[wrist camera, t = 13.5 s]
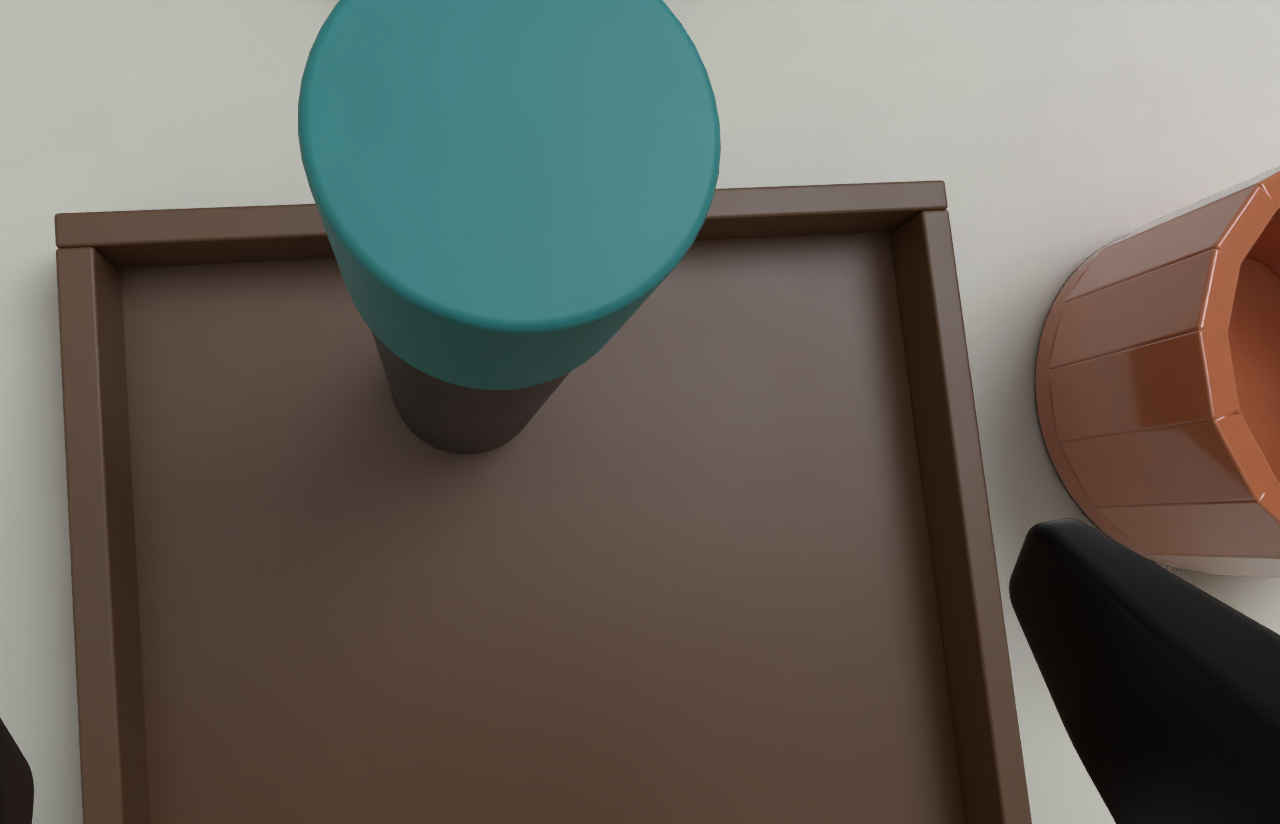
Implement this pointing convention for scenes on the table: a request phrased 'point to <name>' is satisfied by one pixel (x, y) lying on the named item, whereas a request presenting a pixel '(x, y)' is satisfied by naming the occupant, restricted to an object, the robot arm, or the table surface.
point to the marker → (503, 189)
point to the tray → (536, 541)
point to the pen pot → (1175, 385)
